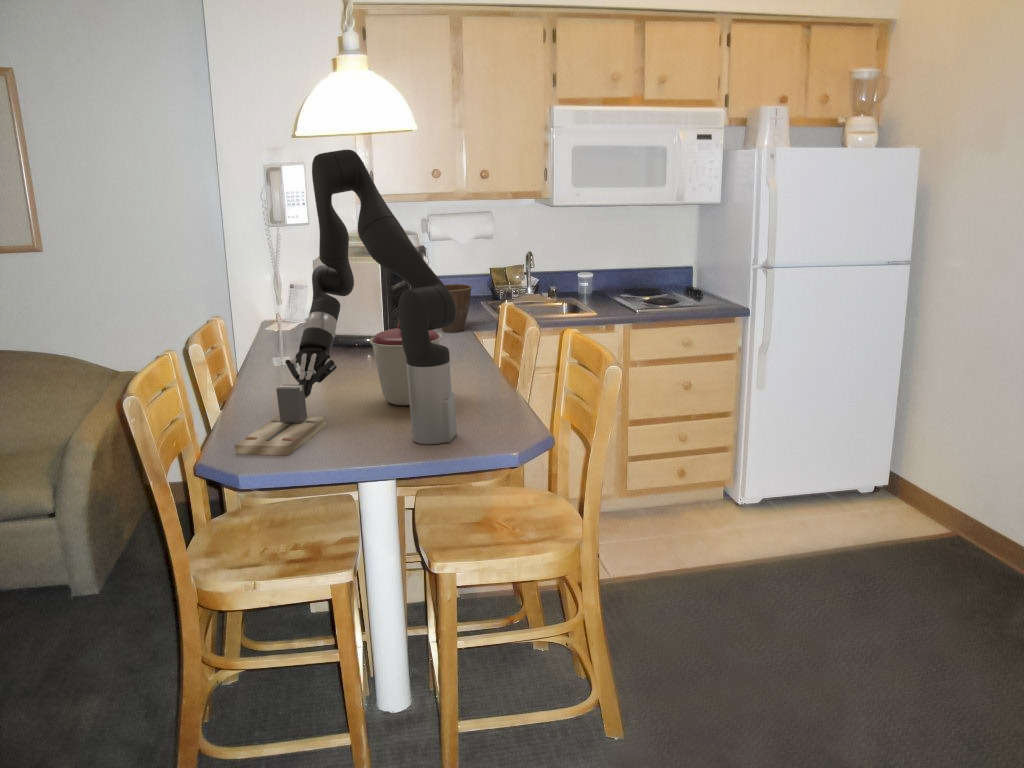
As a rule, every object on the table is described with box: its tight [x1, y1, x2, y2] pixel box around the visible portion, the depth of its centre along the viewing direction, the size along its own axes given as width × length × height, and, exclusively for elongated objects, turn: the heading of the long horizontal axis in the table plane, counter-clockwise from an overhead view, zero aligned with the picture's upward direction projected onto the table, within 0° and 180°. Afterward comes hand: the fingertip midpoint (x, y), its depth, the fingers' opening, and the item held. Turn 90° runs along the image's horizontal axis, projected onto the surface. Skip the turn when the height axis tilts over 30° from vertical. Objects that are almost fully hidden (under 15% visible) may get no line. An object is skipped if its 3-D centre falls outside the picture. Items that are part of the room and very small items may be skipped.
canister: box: [369, 321, 443, 407], centre depth 197 cm, size 18×18×21 cm
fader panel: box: [234, 415, 327, 456], centre depth 174 cm, size 12×20×2 cm, turn 170°
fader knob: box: [275, 384, 308, 423], centre depth 178 cm, size 5×4×8 cm
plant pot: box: [441, 283, 472, 334], centre depth 283 cm, size 15×15×16 cm
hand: (302, 396), depth 184 cm, fingers closed
